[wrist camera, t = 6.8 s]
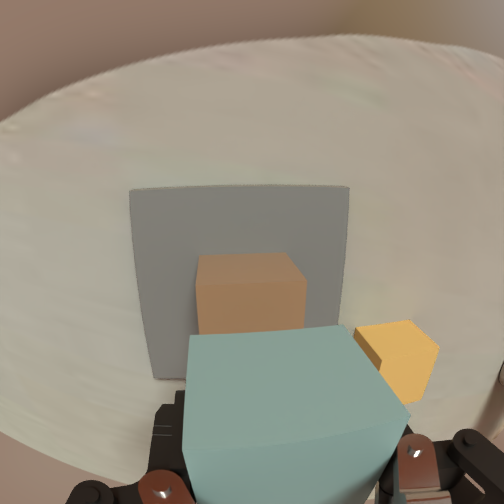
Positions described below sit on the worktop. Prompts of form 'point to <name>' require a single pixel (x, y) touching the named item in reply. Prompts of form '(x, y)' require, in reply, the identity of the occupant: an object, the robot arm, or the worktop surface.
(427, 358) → the ochre block
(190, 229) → the baseplate
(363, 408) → the teal block
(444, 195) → the worktop surface
